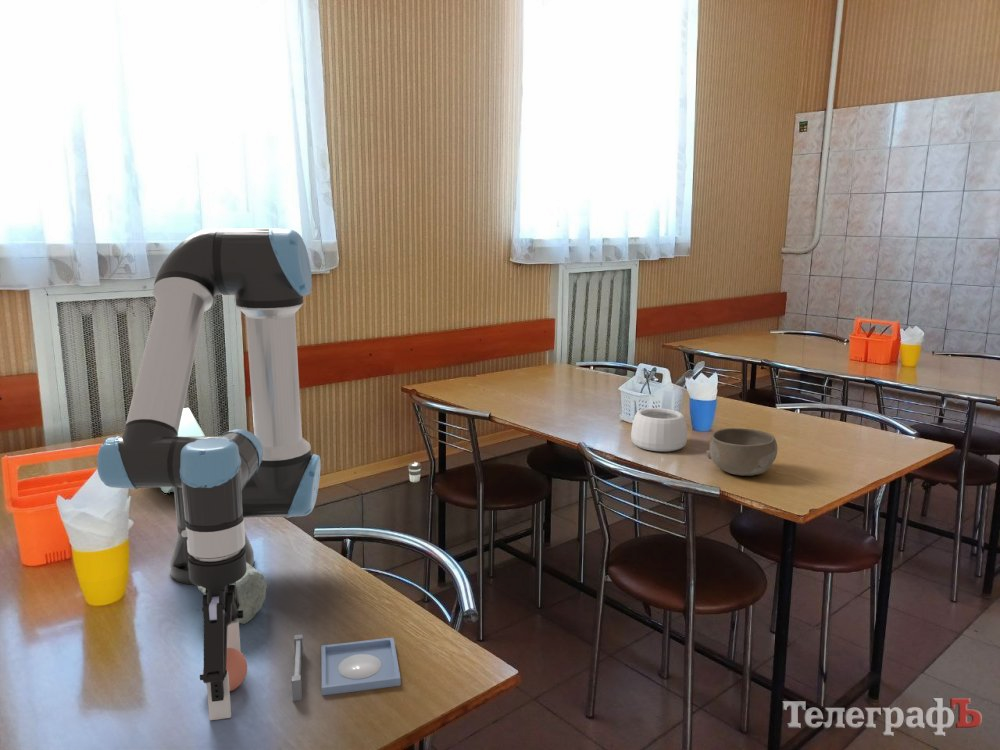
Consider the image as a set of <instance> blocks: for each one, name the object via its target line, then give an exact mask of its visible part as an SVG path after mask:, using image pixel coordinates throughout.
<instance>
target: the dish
mask: <svg viewBox="0 0 1000 750" xmlns="http://www.w3.org/2000/svg"><path fill="white" fill-rule="evenodd" d="M394 639H395V638H394V637H385V638H375V639H368V640H359V641H350V642H343V643H342V642H341V643H333V644H332V643H331V644H324V645H321V649H320V650H321V652H320V653H321V696H327V695H329V696H330V695H334V694H335V695H336V694H343V693H352V692H359V691H368V690H376V689H384V688H391V687H400V686H401V685H402V684H401V683H402V682H401V673H400V668H399V667H400V666H399V662H398V655H397V650H396V644H395V640H394Z"/></svg>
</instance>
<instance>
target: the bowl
mask: <svg viewBox="0 0 1000 750" xmlns="http://www.w3.org/2000/svg"><path fill="white" fill-rule="evenodd" d="M777 455H778V443H777V441H776V438H775V436H774V435H773V434H771V433H769V432H766V431H762V430H757V429H753V428H752V429H751V428H737V427H731V428H729V427H728V428H727V427H726V428H720V429H717V430H715V431H713V432H712V433H711V435H710V439H709V449H706V456H707V458H708V459H709V460H712V462H713V464H714V465H715V466H716V467H717V468H719V469H720V470H722V471H723V472H726V473H728V474H732V475H735V476H744V477H745V476H747V477H752V476H755V475H761V474H764V473H765V472H767V471H768V469H770V467H771V466H772V465H773V463H774V462H775V460H776V458H777V457H778V456H777Z"/></svg>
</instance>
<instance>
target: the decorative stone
mask: <svg viewBox="0 0 1000 750" xmlns="http://www.w3.org/2000/svg"><path fill="white" fill-rule="evenodd" d="M236 588H237V594H238V600H239V603H240V607H239V609H237V610H238V611H240V610H243V618H239V619H235V621H237V620H239V624H245V625H246V624H247V623H248V622H249V621H251V620H252V619H253V618H254V617H255V616H256V614H257V613H259V611H260V610H261V609H262V607H263V605H264V604H263V603H264V602H265V600H266V599H267V596H266V595H267V588H268V582H267V580H266V578H264V574H263V573H261V572H260V571H259V570H257V569H256V568H255V567H254V566H253V567H252V566H251V565H249V564H248V563H247V562H246V573H245V575H244V576H243V577H242V578H241V579H240V580H238V581H236ZM197 589H198V590H199V591H200V592H201V593H202V594H203V595H204V594H206V588H204V587H201V586H200V587H199V586H197Z"/></svg>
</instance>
